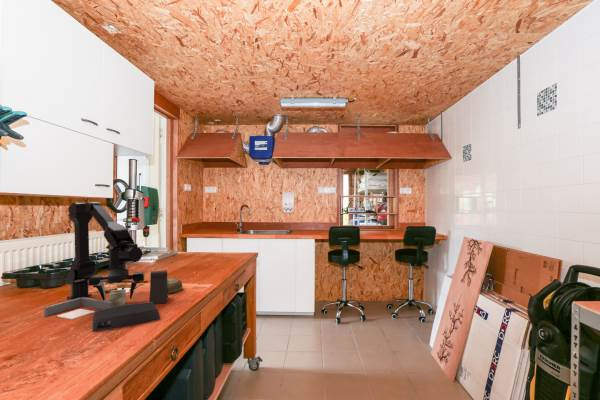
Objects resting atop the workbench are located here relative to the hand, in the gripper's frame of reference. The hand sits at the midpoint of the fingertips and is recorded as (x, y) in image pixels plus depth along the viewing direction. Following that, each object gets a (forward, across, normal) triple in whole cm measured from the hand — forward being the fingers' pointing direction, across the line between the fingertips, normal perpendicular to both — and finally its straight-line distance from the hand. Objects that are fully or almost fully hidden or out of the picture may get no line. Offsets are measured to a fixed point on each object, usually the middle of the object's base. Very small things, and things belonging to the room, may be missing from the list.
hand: (117, 300), depth 125 cm
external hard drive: (+2, +5, -21) cm, 22 cm away
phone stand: (+2, +15, -2) cm, 15 cm away
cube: (+2, 0, 0) cm, 2 cm away
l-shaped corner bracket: (+1, -11, -6) cm, 13 cm away
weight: (+2, +18, +13) cm, 22 cm away
